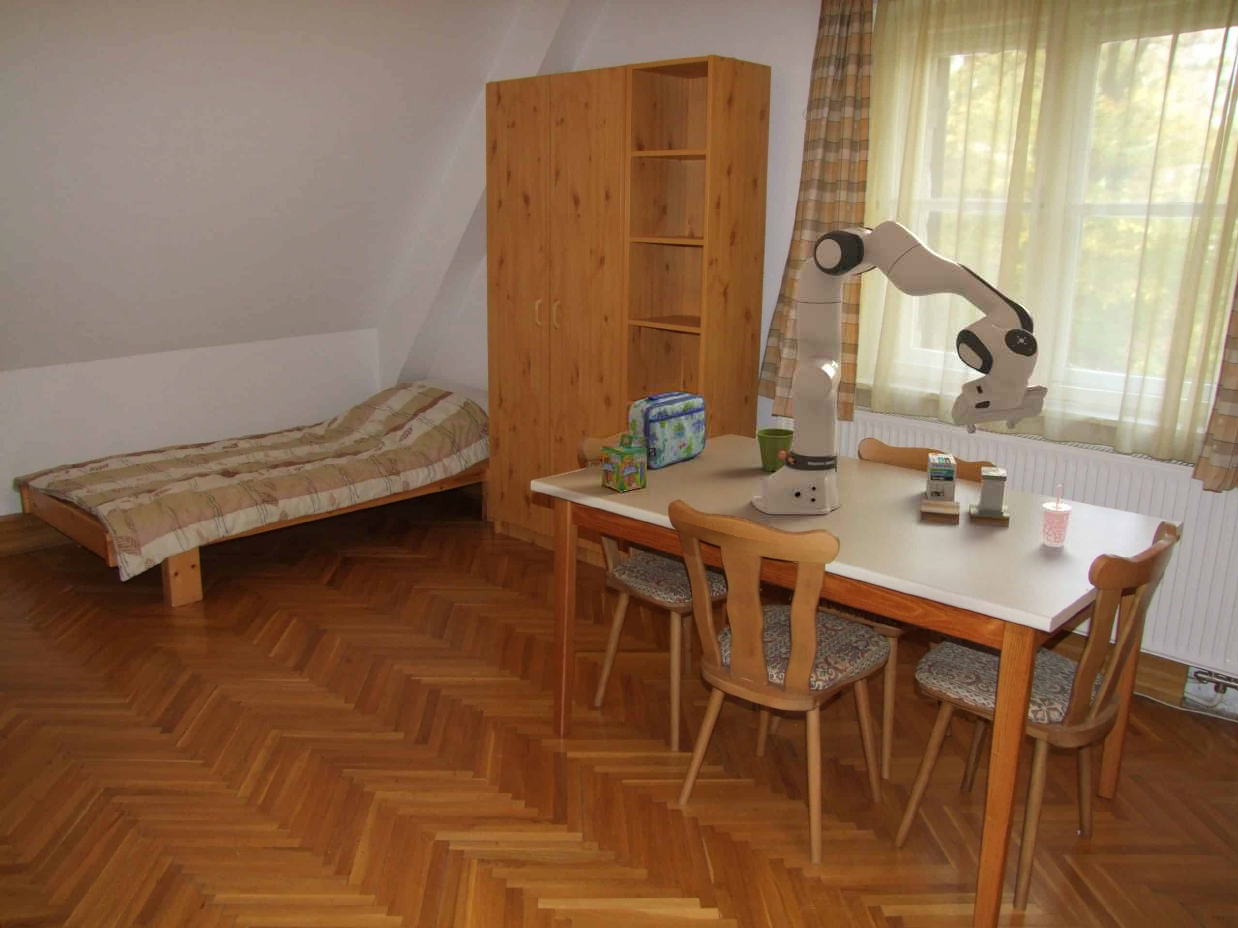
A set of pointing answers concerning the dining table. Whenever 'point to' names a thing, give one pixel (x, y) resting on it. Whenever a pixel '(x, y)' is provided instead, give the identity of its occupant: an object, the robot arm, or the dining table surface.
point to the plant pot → (774, 446)
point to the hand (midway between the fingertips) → (990, 429)
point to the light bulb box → (941, 477)
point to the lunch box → (669, 427)
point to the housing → (992, 491)
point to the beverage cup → (1055, 522)
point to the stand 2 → (988, 519)
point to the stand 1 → (940, 511)
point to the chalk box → (624, 465)
